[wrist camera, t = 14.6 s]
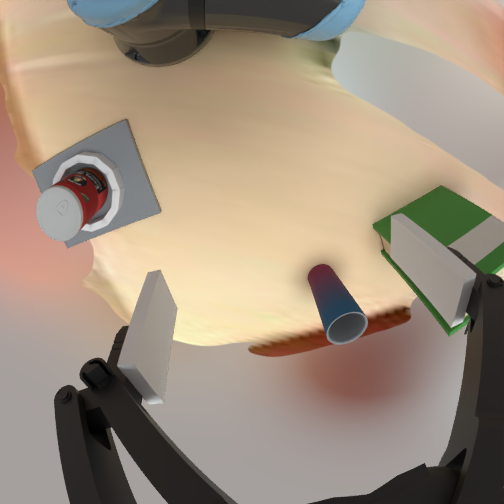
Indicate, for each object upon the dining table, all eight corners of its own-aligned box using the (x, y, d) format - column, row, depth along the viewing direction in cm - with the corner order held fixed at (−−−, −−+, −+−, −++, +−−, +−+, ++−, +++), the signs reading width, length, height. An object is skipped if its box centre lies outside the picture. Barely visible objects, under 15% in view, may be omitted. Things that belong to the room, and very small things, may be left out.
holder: (35, 169, 39) (24, 174, 36) (127, 119, 38) (119, 120, 35) (69, 245, 46) (62, 255, 43) (161, 210, 45) (157, 218, 42)
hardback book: (381, 254, 54) (449, 336, 33) (372, 224, 50) (449, 304, 29) (446, 215, 51) (524, 276, 30) (441, 185, 48) (529, 240, 27)
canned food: (116, 177, 41) (87, 200, 31) (100, 219, 44) (73, 251, 34) (77, 159, 38) (42, 177, 29) (64, 201, 41) (31, 228, 32)
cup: (300, 290, 56) (321, 346, 43) (306, 259, 53) (332, 313, 39) (332, 289, 57) (360, 342, 44) (340, 260, 53) (373, 310, 40)
